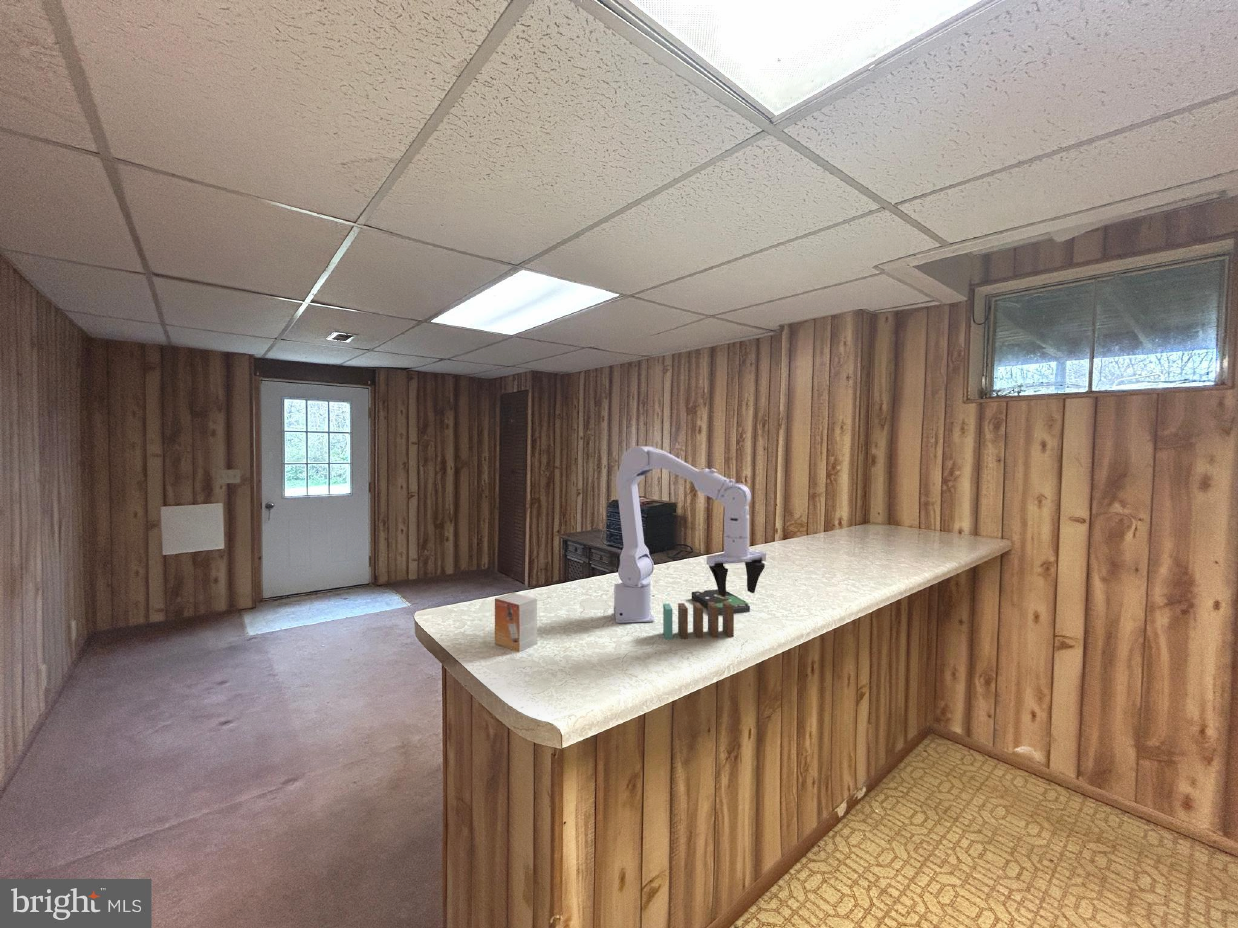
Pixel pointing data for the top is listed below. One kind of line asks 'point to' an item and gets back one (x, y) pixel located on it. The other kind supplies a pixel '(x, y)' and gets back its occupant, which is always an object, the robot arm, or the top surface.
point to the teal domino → (667, 621)
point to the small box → (515, 621)
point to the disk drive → (720, 600)
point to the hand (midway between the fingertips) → (736, 593)
